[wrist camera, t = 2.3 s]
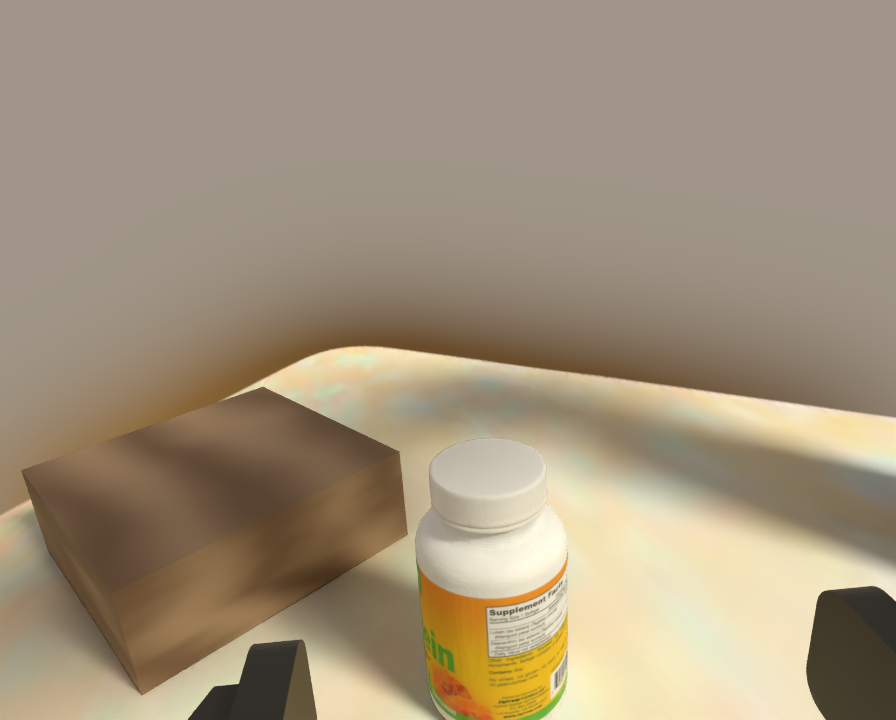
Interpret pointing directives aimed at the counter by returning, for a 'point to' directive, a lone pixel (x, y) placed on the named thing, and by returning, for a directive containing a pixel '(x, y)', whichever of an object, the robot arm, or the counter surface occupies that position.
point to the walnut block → (213, 523)
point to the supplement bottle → (493, 584)
